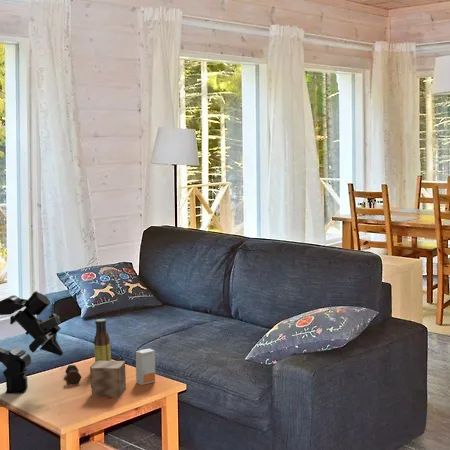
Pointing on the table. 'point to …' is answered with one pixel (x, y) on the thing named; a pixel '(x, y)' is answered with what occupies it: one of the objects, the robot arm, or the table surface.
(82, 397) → the table surface
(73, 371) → the bolt
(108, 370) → the housing
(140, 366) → the skincare box
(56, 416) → the table surface
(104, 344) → the sauce bottle
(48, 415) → the table surface
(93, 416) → the table surface
